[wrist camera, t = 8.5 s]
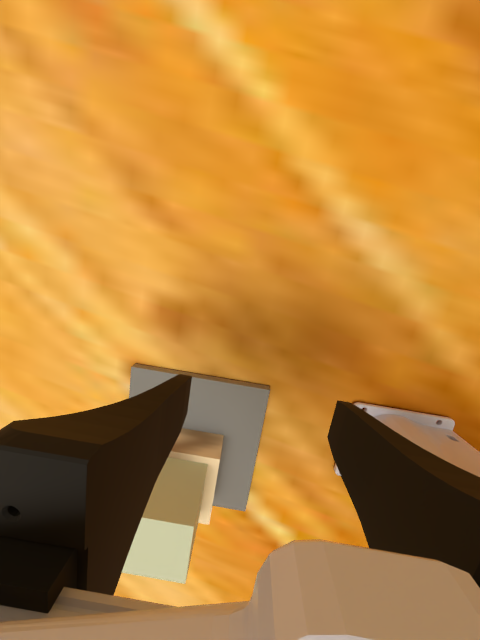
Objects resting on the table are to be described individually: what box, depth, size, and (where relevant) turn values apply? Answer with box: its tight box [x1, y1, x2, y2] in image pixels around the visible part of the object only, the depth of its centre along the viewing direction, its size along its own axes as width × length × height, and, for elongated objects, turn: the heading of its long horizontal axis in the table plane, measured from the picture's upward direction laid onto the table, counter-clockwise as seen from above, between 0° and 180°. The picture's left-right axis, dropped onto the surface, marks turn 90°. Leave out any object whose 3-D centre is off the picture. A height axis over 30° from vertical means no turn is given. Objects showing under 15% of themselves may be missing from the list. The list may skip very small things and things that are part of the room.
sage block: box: [122, 457, 208, 584], centre depth 18 cm, size 5×5×5 cm
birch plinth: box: [168, 428, 224, 524], centre depth 22 cm, size 7×7×3 cm
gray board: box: [129, 363, 270, 511], centre depth 23 cm, size 13×14×1 cm
